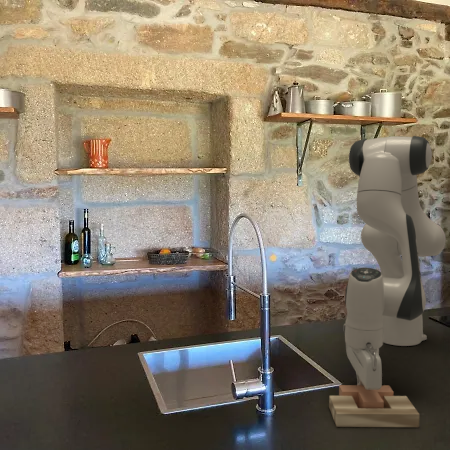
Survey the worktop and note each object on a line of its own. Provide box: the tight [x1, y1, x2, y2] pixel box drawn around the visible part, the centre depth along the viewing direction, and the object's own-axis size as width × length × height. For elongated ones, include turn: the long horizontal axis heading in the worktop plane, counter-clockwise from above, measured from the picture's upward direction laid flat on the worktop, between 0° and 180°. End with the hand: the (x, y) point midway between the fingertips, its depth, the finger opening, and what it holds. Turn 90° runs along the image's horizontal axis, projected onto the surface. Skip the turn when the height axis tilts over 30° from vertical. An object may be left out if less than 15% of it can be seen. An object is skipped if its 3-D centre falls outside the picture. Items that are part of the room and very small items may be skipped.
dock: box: [328, 395, 421, 428], centre depth 113 cm, size 8×18×3 cm, turn 89°
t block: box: [338, 384, 395, 408], centre depth 116 cm, size 8×12×4 cm
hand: (362, 390), depth 122 cm, fingers closed
